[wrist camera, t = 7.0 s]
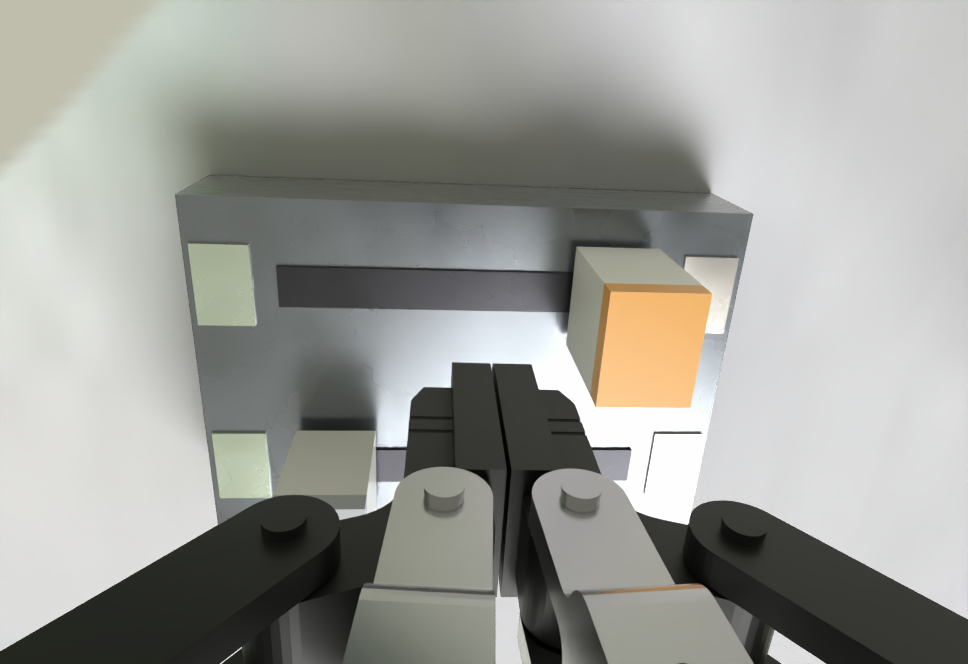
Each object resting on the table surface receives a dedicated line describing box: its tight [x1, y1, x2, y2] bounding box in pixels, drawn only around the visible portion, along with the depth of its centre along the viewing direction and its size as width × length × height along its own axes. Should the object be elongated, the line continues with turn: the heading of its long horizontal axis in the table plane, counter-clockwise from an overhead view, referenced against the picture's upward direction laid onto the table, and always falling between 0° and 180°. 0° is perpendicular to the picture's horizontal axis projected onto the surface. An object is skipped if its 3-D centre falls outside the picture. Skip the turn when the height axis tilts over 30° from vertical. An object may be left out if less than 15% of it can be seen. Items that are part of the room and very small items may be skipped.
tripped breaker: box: [566, 247, 712, 408], centre depth 17 cm, size 2×3×4 cm
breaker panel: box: [175, 175, 753, 525], centre depth 22 cm, size 16×11×3 cm
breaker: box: [273, 431, 377, 520], centre depth 19 cm, size 2×3×4 cm
